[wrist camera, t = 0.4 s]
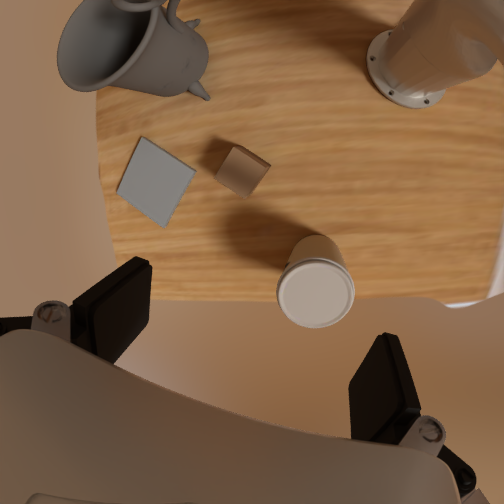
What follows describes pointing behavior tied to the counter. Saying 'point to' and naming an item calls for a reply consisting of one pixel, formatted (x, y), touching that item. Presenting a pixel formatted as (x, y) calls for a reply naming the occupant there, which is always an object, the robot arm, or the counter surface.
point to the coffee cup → (315, 284)
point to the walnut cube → (242, 171)
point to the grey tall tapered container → (132, 48)
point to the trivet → (155, 181)
